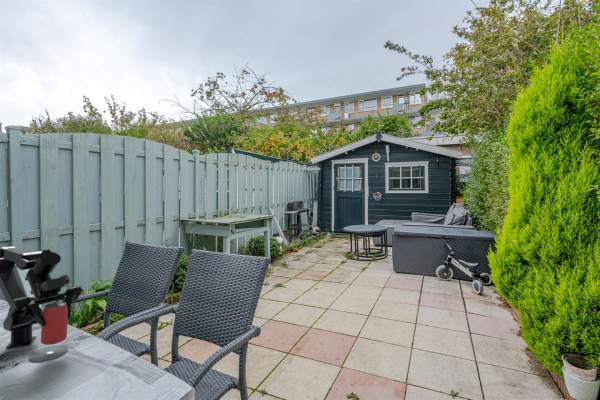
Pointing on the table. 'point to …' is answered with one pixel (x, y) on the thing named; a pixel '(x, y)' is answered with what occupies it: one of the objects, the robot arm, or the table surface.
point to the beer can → (54, 323)
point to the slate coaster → (48, 353)
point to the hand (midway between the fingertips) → (57, 321)
